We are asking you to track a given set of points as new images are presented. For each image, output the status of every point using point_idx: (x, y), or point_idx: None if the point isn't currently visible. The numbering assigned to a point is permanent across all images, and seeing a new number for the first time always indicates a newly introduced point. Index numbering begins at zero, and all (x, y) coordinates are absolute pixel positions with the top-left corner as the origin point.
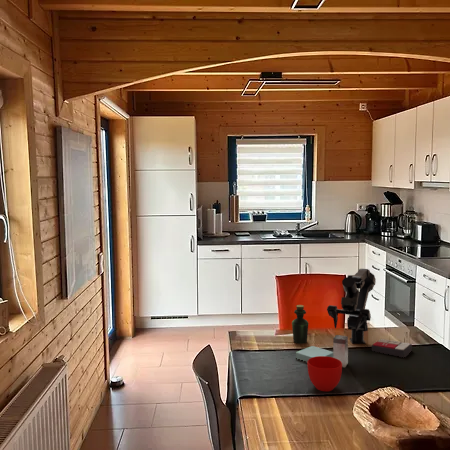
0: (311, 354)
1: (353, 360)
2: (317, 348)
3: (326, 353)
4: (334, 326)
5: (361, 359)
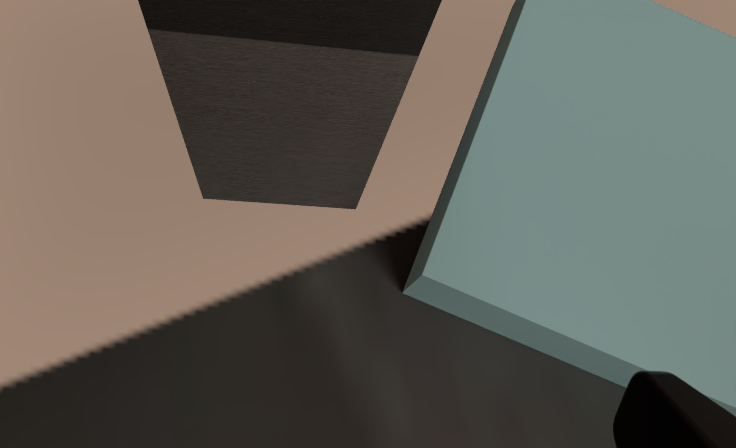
0: (670, 82)
1: (139, 338)
2: (693, 344)
3: (509, 183)
4: (687, 385)
5: (23, 429)
